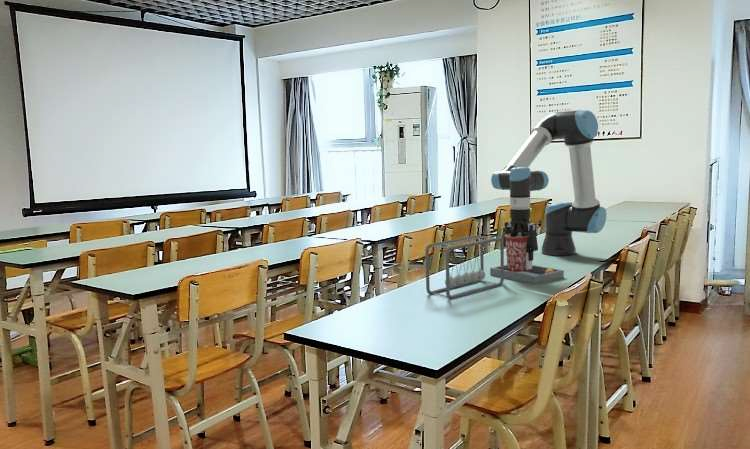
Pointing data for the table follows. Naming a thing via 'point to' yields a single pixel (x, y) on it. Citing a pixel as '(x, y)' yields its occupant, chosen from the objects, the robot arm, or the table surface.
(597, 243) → the table surface
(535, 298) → the table surface
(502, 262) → the newton's cradle
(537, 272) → the tray
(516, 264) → the mug
